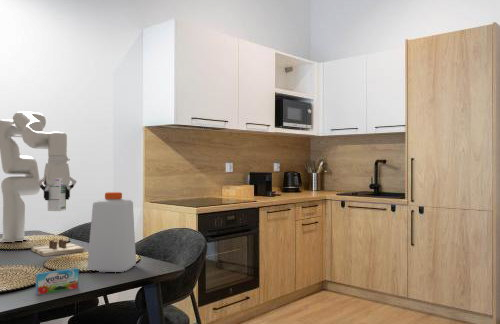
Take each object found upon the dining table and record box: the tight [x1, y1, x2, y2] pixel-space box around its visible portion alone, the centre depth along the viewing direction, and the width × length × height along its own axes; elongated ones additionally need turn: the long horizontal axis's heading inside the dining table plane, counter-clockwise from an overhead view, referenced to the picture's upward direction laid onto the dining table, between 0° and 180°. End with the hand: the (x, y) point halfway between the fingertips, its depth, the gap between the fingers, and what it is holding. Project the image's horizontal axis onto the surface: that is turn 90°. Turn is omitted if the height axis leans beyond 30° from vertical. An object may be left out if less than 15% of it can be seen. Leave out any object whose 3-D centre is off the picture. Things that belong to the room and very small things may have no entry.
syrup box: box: [47, 178, 67, 212], centre depth 197 cm, size 6×6×14 cm
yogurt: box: [35, 267, 80, 296], centre depth 134 cm, size 12×2×6 cm, turn 132°
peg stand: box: [30, 238, 85, 257], centre depth 196 cm, size 17×17×4 cm
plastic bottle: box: [86, 191, 137, 274], centre depth 165 cm, size 15×15×28 cm
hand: (56, 199), depth 197 cm, fingers closed on syrup box, 8 cm apart
